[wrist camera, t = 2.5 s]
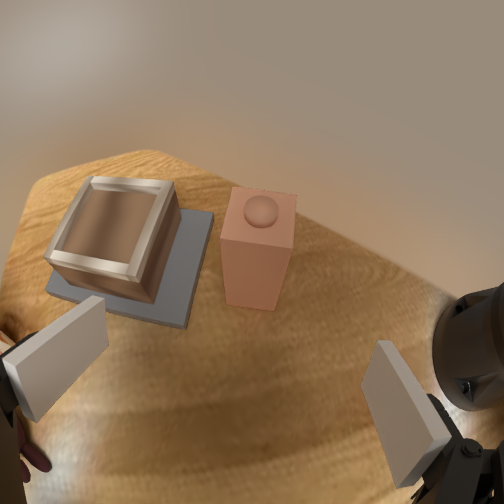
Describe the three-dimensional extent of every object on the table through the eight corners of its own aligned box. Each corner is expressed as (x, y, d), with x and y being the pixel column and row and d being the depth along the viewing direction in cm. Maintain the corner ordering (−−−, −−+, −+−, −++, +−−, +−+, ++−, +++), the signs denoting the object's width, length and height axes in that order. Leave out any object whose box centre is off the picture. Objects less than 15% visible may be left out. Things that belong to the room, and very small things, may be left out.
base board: (214, 220, 36) (213, 212, 35) (186, 329, 29) (183, 325, 27) (92, 206, 37) (88, 199, 35) (51, 295, 29) (44, 290, 28)
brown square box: (181, 218, 34) (173, 181, 29) (154, 304, 28) (135, 276, 23) (104, 209, 34) (87, 175, 29) (69, 285, 29) (43, 256, 23)
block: (279, 269, 33) (298, 187, 22) (274, 311, 30) (294, 242, 19) (234, 263, 33) (232, 179, 22) (226, 304, 30) (219, 231, 19)
